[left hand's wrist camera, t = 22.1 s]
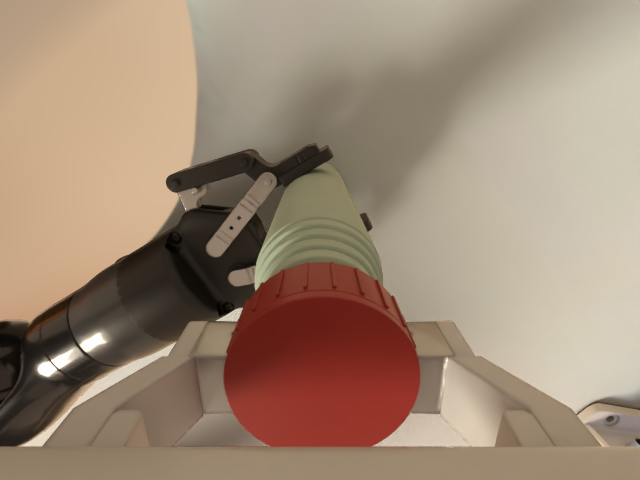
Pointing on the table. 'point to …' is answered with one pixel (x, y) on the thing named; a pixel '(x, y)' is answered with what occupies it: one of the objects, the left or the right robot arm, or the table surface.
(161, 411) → the left robot arm
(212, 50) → the table surface
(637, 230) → the table surface
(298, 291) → the cap
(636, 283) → the table surface
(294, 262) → the bottle
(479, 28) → the table surface
